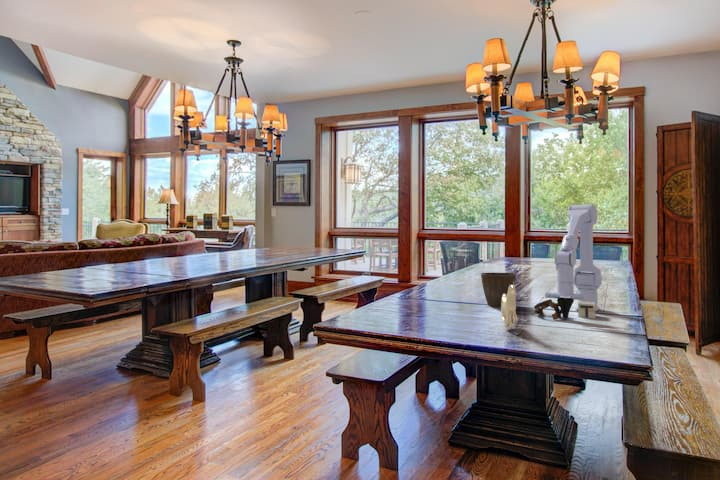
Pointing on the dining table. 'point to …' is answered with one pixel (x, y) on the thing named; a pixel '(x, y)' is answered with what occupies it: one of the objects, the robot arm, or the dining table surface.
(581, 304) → the letter cube
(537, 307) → the brown curved wooden piece
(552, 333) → the dining table surface
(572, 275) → the robot arm
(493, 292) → the plant pot
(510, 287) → the unicorn
